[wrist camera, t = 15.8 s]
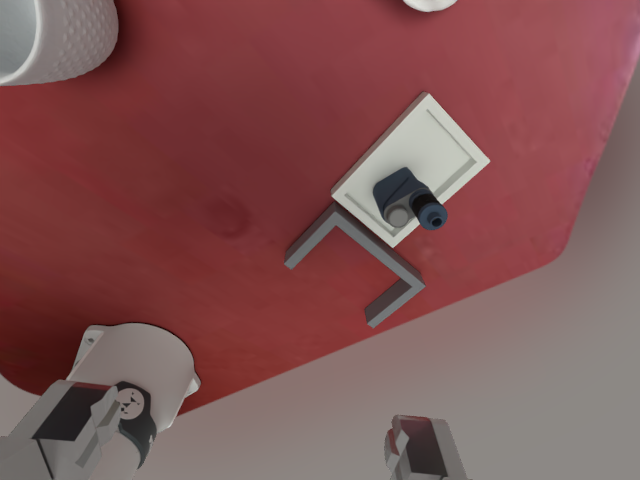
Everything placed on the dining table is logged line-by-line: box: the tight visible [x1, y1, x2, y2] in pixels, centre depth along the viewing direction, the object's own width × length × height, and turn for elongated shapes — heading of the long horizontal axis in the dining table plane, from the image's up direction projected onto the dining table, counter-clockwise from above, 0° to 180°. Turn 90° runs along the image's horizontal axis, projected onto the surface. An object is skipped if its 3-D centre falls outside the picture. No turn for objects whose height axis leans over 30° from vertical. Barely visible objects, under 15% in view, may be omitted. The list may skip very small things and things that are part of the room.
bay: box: [284, 201, 426, 328], centre depth 43 cm, size 9×15×3 cm, turn 49°
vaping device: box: [373, 167, 447, 230], centre depth 33 cm, size 3×5×12 cm, turn 122°
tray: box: [331, 92, 490, 248], centre depth 37 cm, size 14×10×2 cm
